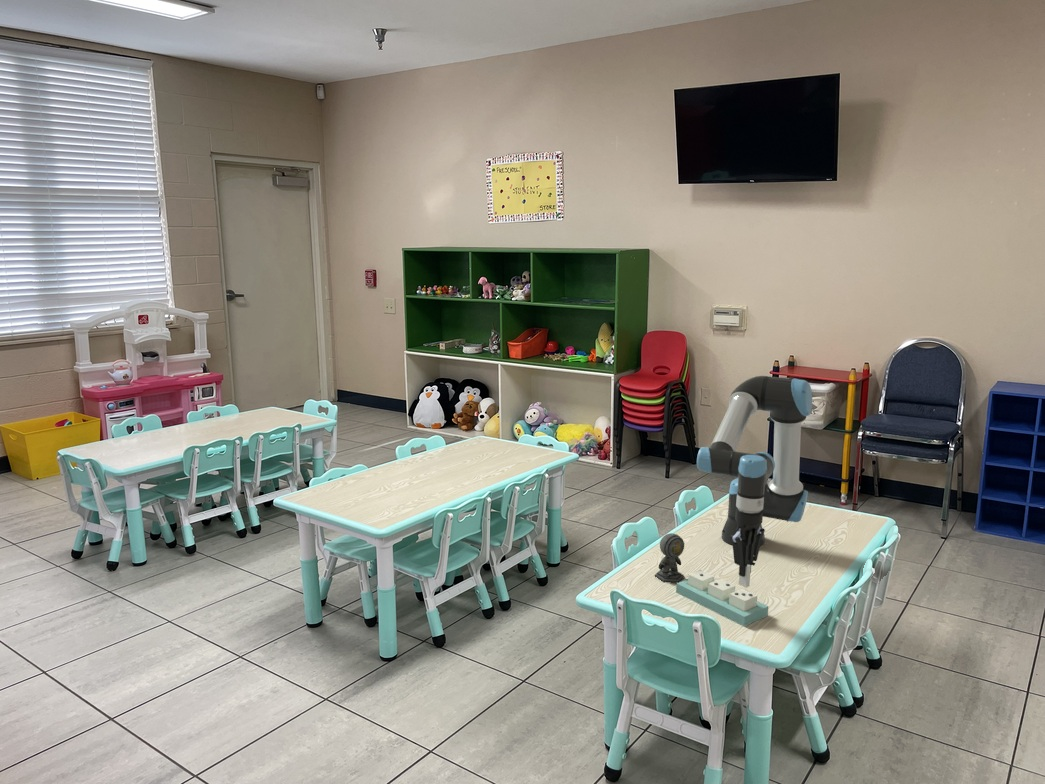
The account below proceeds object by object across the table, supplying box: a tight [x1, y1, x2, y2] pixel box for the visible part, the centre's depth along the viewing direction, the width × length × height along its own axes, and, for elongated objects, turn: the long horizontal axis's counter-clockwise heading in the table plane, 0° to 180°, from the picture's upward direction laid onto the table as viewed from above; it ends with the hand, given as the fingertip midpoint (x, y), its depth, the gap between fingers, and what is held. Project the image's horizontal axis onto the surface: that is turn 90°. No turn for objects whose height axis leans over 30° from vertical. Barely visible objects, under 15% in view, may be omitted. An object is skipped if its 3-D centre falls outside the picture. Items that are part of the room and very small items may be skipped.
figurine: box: [654, 532, 685, 584], centre depth 252 cm, size 9×10×15 cm
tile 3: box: [729, 588, 758, 612], centre depth 229 cm, size 6×6×4 cm
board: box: [675, 578, 769, 627], centre depth 236 cm, size 26×11×3 cm, turn 36°
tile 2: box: [708, 578, 736, 601], centre depth 235 cm, size 6×6×4 cm
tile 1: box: [687, 569, 715, 591], centre depth 241 cm, size 6×6×4 cm
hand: (743, 585), depth 228 cm, fingers closed
